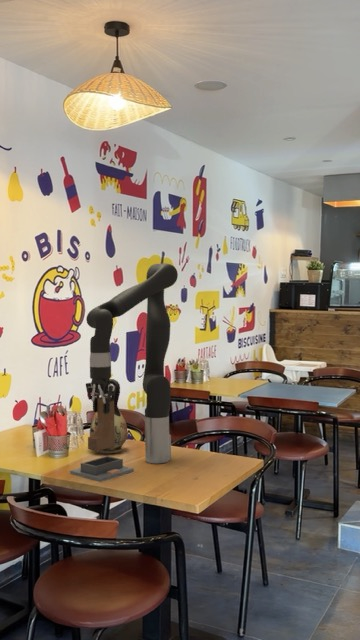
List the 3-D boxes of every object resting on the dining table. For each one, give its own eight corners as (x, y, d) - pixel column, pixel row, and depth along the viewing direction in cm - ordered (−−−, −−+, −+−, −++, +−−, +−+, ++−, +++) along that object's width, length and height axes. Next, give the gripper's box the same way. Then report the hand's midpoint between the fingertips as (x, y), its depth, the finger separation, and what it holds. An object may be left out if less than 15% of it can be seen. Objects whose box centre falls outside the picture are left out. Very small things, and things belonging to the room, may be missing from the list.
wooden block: (95, 451, 216) (94, 400, 215) (87, 449, 219) (86, 399, 218) (115, 446, 222) (114, 397, 222) (107, 445, 226) (106, 396, 225)
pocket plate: (103, 464, 232) (103, 453, 232) (133, 471, 222) (133, 460, 222) (70, 473, 220) (69, 462, 220) (100, 481, 210) (100, 469, 210)
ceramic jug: (81, 453, 249) (80, 379, 248) (105, 445, 263) (104, 375, 262) (115, 458, 240) (114, 381, 240) (138, 450, 254) (137, 377, 253)
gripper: (122, 365, 218) (122, 413, 219) (94, 363, 227) (95, 409, 228) (106, 367, 212) (107, 416, 213) (79, 364, 222) (79, 412, 222)
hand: (101, 412), depth 220 cm, fingers closed on wooden block, 4 cm apart
